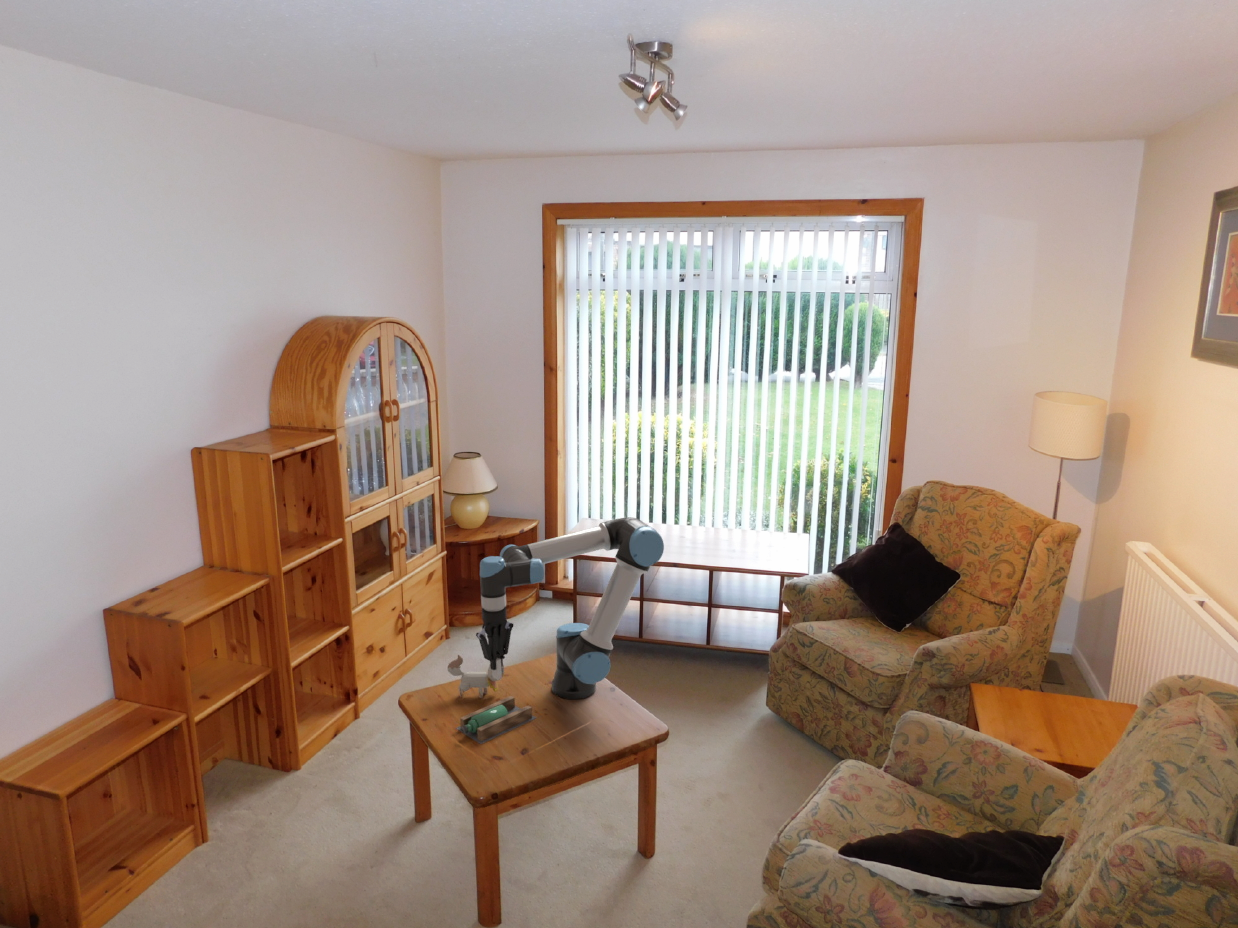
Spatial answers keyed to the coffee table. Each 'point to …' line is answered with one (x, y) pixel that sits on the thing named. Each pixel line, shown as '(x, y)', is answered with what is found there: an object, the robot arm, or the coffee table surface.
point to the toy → (473, 678)
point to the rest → (502, 722)
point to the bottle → (484, 718)
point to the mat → (474, 735)
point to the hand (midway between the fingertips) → (497, 677)
